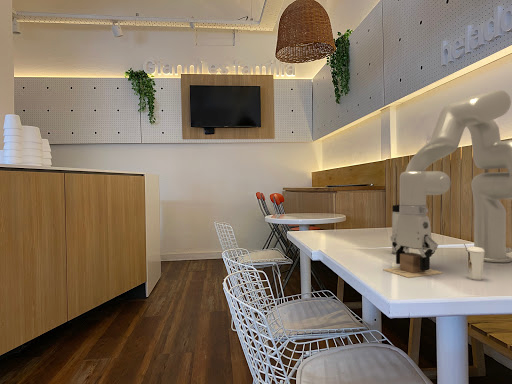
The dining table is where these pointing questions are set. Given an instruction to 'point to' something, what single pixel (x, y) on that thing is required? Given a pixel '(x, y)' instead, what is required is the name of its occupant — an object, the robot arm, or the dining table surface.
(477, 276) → the milkshake
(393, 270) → the letter
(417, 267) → the walnut block
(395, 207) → the travel mug
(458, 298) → the dining table surface
